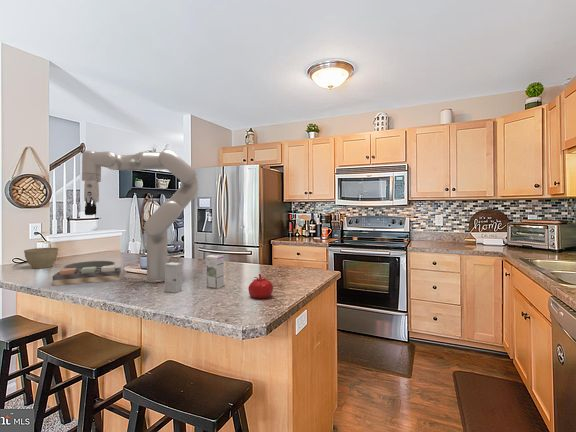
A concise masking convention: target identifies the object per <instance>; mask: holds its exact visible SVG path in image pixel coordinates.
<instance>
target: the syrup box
mask: <svg viewBox="0 0 576 432" xmlns="http://www.w3.org/2000/svg"><path fill="white" fill-rule="evenodd" d="M224 257H225V256H224V254H215V253H214V254H209V255H207V256H206V288H210V289H217V290H218V289H220V288H222V287H224V286H225V268H224V267H225V260H224V259H225V258H224Z"/></svg>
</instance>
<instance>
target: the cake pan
mask: <svg viewBox="0 0 576 432" xmlns="http://www.w3.org/2000/svg"><path fill="white" fill-rule="evenodd" d="M112 265H116V262H115V261H111V260H91V261H90V260H89V261H80V262H74V263H69V264H66V265H64V266H63V268H62V269H67V268H76V271H79V270H81V269H82V268H83V267H96V269H101V268H102V267H103V266H112Z"/></svg>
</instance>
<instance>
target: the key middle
mask: <svg viewBox="0 0 576 432" xmlns="http://www.w3.org/2000/svg"><path fill="white" fill-rule="evenodd" d="M95 271H96V267H83V268H82V269H81V273H94V272H95Z"/></svg>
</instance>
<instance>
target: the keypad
mask: <svg viewBox="0 0 576 432" xmlns="http://www.w3.org/2000/svg"><path fill="white" fill-rule="evenodd" d="M121 271H122V268H121V267H115V271H108V272H101V269H96V271H95V272H94V273H81V270H79V271H76V273H75V274H67V275H60V271H58V272H56V273H55V274H54V275H52V287H53V286H54V287H55V286H56V287H57V286H67V284H68V285H76V284H78V285H79V284H89V283H90V284H92V283H104V282H112V281H113V282H114V281H116V282H117V281H120V278H122V272H121Z"/></svg>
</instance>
